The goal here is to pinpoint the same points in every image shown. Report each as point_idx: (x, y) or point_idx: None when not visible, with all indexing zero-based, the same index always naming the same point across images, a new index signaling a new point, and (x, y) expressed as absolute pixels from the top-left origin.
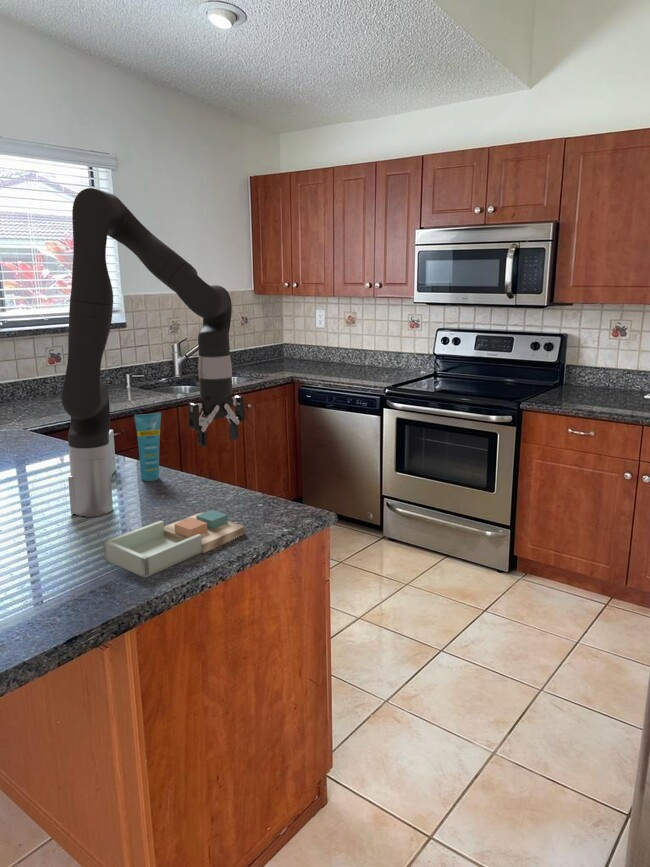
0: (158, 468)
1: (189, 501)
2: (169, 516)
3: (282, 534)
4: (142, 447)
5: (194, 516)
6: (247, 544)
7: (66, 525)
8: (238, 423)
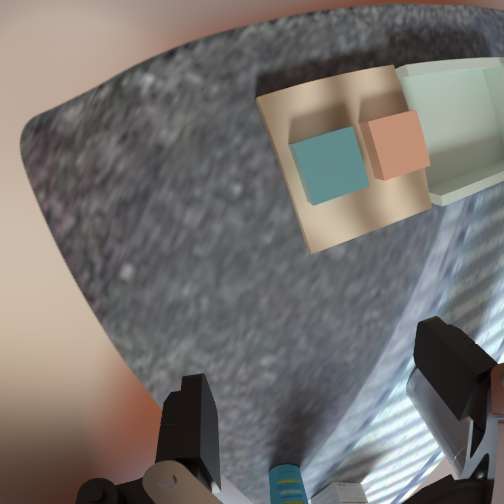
0: (273, 483)
1: (275, 366)
2: (356, 303)
3: (169, 58)
4: None
5: (341, 234)
6: (278, 48)
7: (483, 329)
8: (155, 468)
